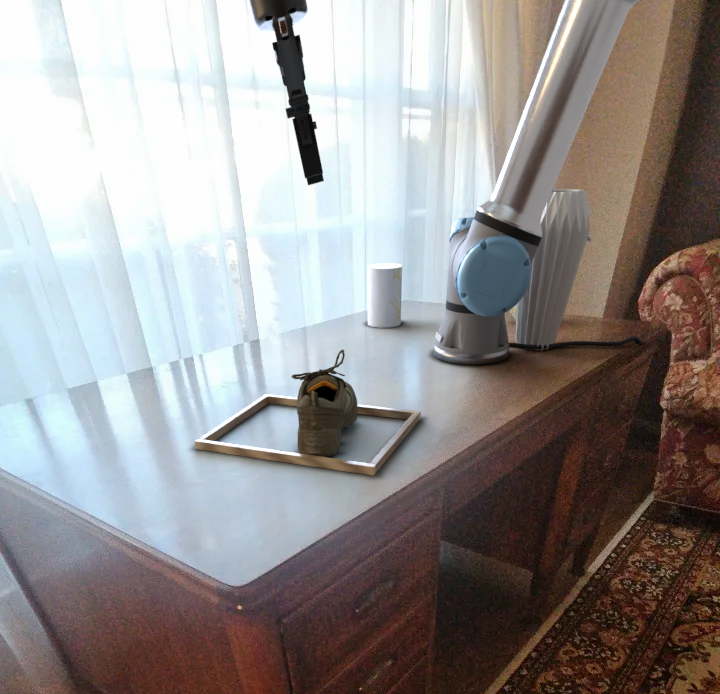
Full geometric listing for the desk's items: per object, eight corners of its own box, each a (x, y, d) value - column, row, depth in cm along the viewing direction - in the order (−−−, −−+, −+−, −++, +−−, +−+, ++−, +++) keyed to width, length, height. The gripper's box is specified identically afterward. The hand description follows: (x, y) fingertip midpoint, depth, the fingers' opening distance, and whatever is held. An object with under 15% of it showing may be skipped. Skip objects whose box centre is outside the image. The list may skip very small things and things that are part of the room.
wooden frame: (420, 418, 92) (421, 411, 91) (373, 475, 76) (373, 467, 76) (266, 400, 100) (265, 393, 99) (195, 449, 84) (194, 441, 83)
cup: (398, 328, 137) (399, 269, 129) (364, 327, 138) (364, 268, 130) (402, 320, 143) (404, 263, 135) (371, 319, 144) (370, 262, 136)
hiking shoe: (362, 407, 94) (359, 326, 86) (342, 461, 80) (336, 371, 72) (311, 406, 95) (304, 326, 87) (282, 459, 81) (271, 370, 73)
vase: (577, 351, 119) (612, 191, 102) (517, 356, 117) (542, 193, 100) (549, 335, 129) (576, 187, 112) (493, 340, 127) (512, 189, 110)
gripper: (256, 18, 87) (295, 191, 99) (234, -49, 66) (286, 179, 79) (304, 3, 86) (337, 179, 98) (296, -69, 66) (339, 164, 78)
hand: (315, 180), depth 88 cm, fingers open, 13 cm apart
